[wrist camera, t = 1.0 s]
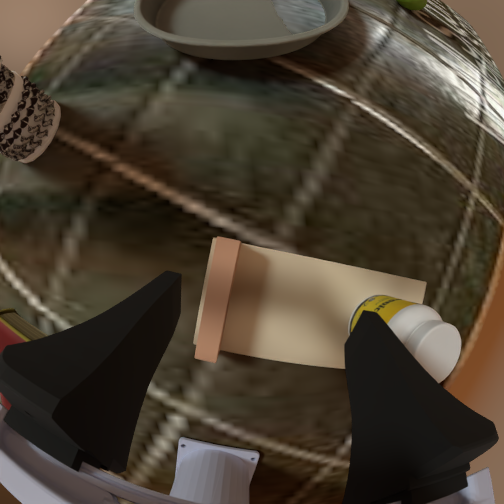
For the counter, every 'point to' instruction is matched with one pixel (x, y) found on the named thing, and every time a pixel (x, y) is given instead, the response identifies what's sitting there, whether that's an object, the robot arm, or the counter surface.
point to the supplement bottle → (416, 332)
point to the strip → (285, 304)
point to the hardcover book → (15, 334)
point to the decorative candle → (25, 117)
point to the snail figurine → (413, 4)
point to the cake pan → (229, 27)
